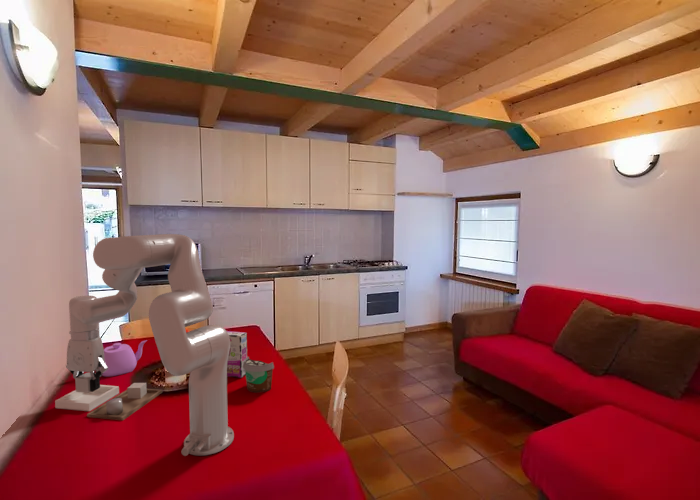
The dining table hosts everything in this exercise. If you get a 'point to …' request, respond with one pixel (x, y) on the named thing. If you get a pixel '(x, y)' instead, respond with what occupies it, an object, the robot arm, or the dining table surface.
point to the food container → (258, 375)
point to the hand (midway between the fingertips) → (88, 388)
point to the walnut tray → (125, 405)
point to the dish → (87, 398)
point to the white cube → (137, 390)
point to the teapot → (121, 359)
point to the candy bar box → (237, 354)
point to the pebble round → (114, 406)
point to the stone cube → (83, 383)
